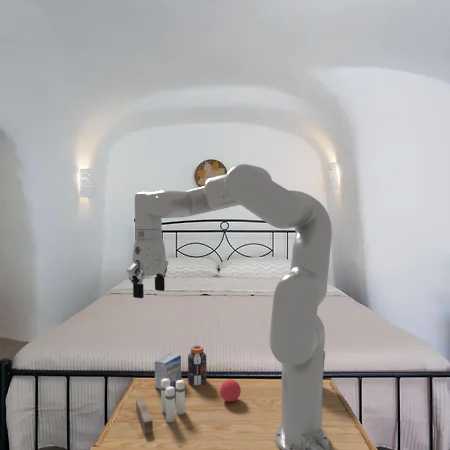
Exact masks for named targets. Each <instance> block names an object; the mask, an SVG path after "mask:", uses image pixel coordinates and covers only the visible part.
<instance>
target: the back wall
mask: <svg viewBox="0 0 450 450" xmlns="http://www.w3.org/2000/svg"><path fill="white" fill-rule="evenodd" d="M135 403H136V404H135V406H136V407H135V410H136V413H137V416H138V419H139V422H140V424H141V427H142V430H143V433H144V435H147V434H150V433H153V432H154V431H153V430H154V429H153V428H154V427H153V424H154V423H153V422H154V421H153V418H152V416H151V414H150V411H149V408H148V406H147V403H146V401H145V399H144V397H142V398H141V397H140V398H137V399H135Z"/></svg>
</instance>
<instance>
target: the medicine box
mask: <svg viewBox="0 0 450 450" xmlns="http://www.w3.org/2000/svg"><path fill="white" fill-rule="evenodd" d="M165 378H167V379H170V386H172V387H174V386H176V381H178V380H182V355H180V354H177V353H173V352H170V353H169V354H166V355H165V356H162V357H161V358H159V359H157V360H155V361H154V388H156V389H159V390H161V380H162V379H165Z"/></svg>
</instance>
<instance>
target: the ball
mask: <svg viewBox="0 0 450 450" xmlns="http://www.w3.org/2000/svg"><path fill="white" fill-rule="evenodd" d="M241 389H242V388H241V385H240V384H239V383H238V381H237V380H235V379H230V378H229V379H226V380H224V381H223V382H222V383H221V385H220V387H219V394H220V396H221V398H222V399H223V400H224V401H225V402H228V403H233V402H235V401H237V400H238V399H239V398H240V396H241Z"/></svg>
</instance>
